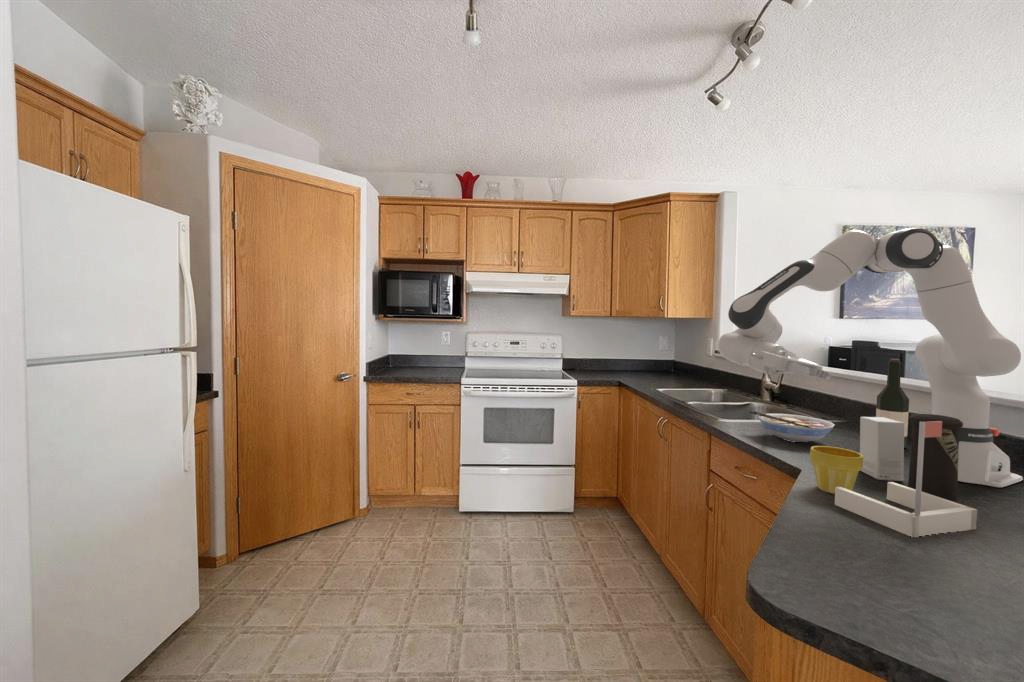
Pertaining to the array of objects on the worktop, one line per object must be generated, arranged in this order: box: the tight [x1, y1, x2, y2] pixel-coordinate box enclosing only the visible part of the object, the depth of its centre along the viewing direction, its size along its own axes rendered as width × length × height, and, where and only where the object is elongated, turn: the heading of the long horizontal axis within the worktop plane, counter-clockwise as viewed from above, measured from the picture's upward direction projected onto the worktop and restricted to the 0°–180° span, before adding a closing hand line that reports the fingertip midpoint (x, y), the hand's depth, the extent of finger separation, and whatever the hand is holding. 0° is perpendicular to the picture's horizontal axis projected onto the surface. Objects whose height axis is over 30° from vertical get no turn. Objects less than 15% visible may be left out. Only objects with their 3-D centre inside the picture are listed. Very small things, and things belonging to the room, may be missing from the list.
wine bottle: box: [875, 358, 910, 448], centre depth 149 cm, size 8×8×30 cm
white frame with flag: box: [834, 421, 978, 538], centre depth 92 cm, size 17×16×22 cm
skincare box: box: [859, 416, 905, 482], centre depth 118 cm, size 8×7×16 cm
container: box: [907, 413, 963, 503], centre depth 102 cm, size 9×9×20 cm
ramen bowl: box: [748, 410, 836, 443], centre depth 154 cm, size 25×23×8 cm
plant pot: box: [809, 445, 863, 495], centre depth 106 cm, size 10×10×10 cm
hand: (819, 373), depth 112 cm, fingers open, 8 cm apart
